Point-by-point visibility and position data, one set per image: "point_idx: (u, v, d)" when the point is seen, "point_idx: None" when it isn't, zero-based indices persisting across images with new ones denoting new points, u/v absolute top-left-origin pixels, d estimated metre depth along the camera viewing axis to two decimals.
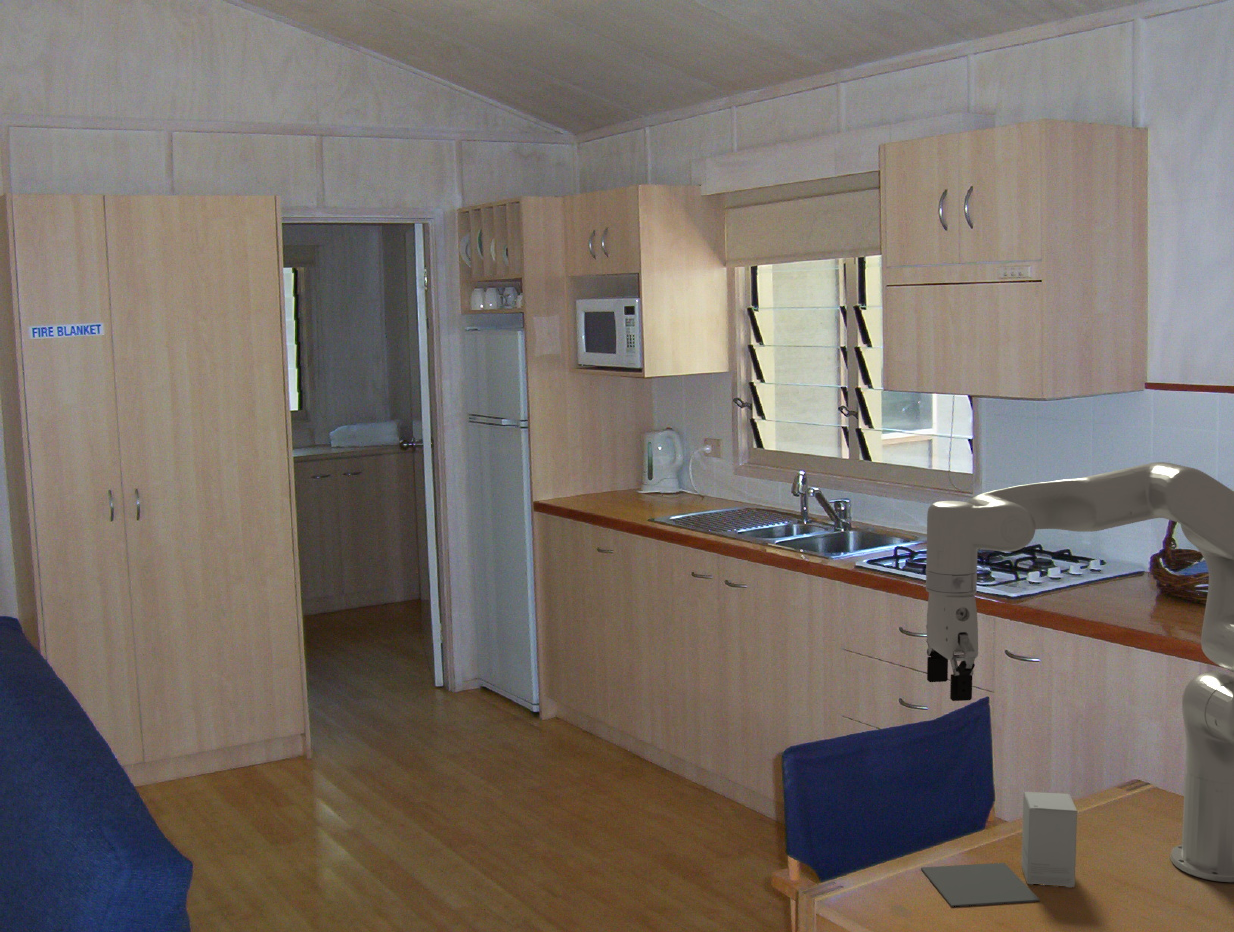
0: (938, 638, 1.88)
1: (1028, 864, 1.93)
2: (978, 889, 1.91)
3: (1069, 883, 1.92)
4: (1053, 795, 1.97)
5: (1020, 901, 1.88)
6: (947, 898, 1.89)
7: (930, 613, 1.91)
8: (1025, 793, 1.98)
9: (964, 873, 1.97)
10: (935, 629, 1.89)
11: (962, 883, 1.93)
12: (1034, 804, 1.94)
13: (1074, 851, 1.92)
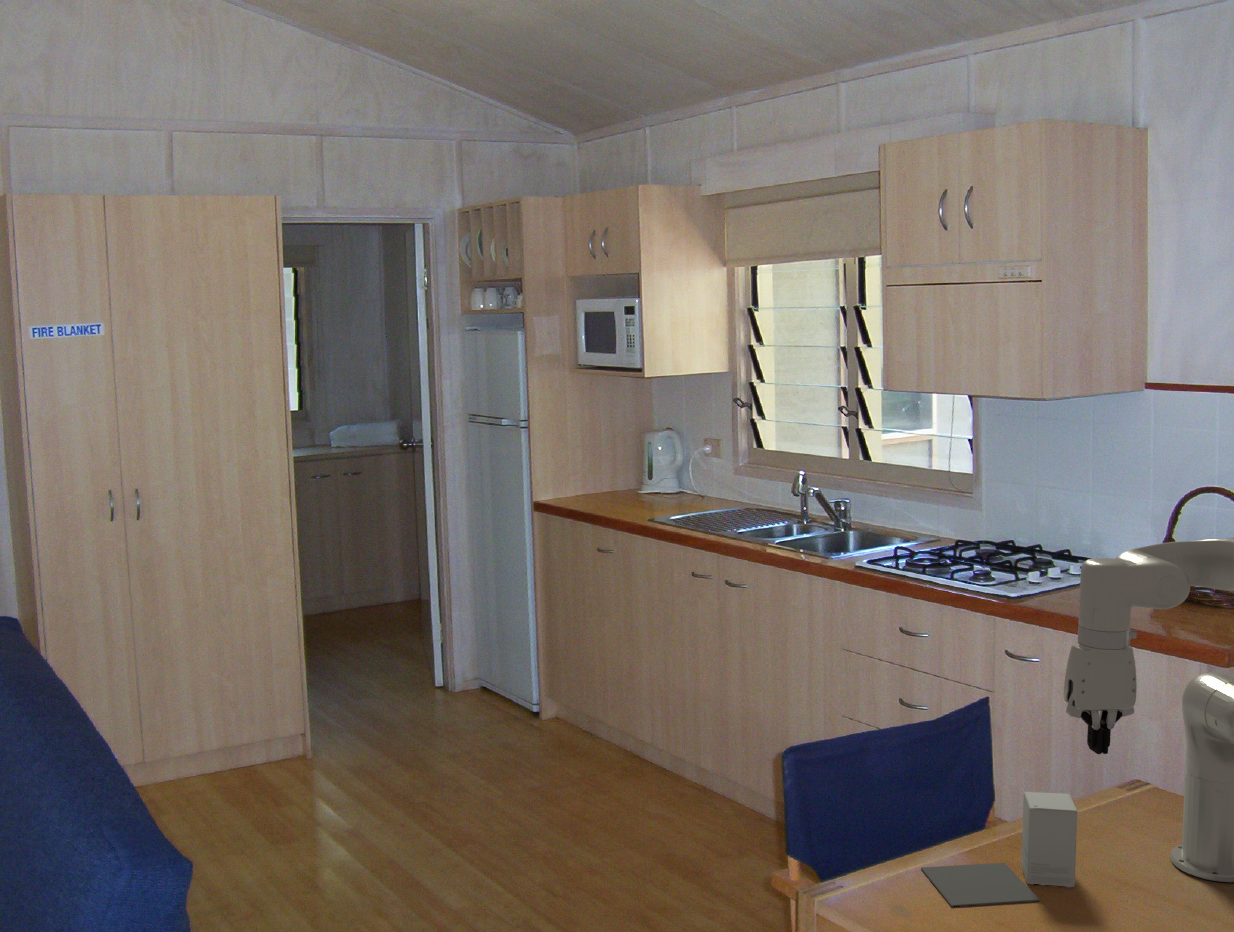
0: (1116, 694, 1.91)
1: (1028, 864, 1.93)
2: (978, 889, 1.91)
3: (1069, 883, 1.92)
4: (1053, 795, 1.97)
5: (1020, 901, 1.88)
6: (947, 898, 1.89)
7: (1096, 675, 1.91)
8: (1025, 793, 1.98)
9: (964, 873, 1.97)
10: (1110, 687, 1.91)
11: (962, 883, 1.93)
12: (1034, 804, 1.94)
13: (1074, 851, 1.92)
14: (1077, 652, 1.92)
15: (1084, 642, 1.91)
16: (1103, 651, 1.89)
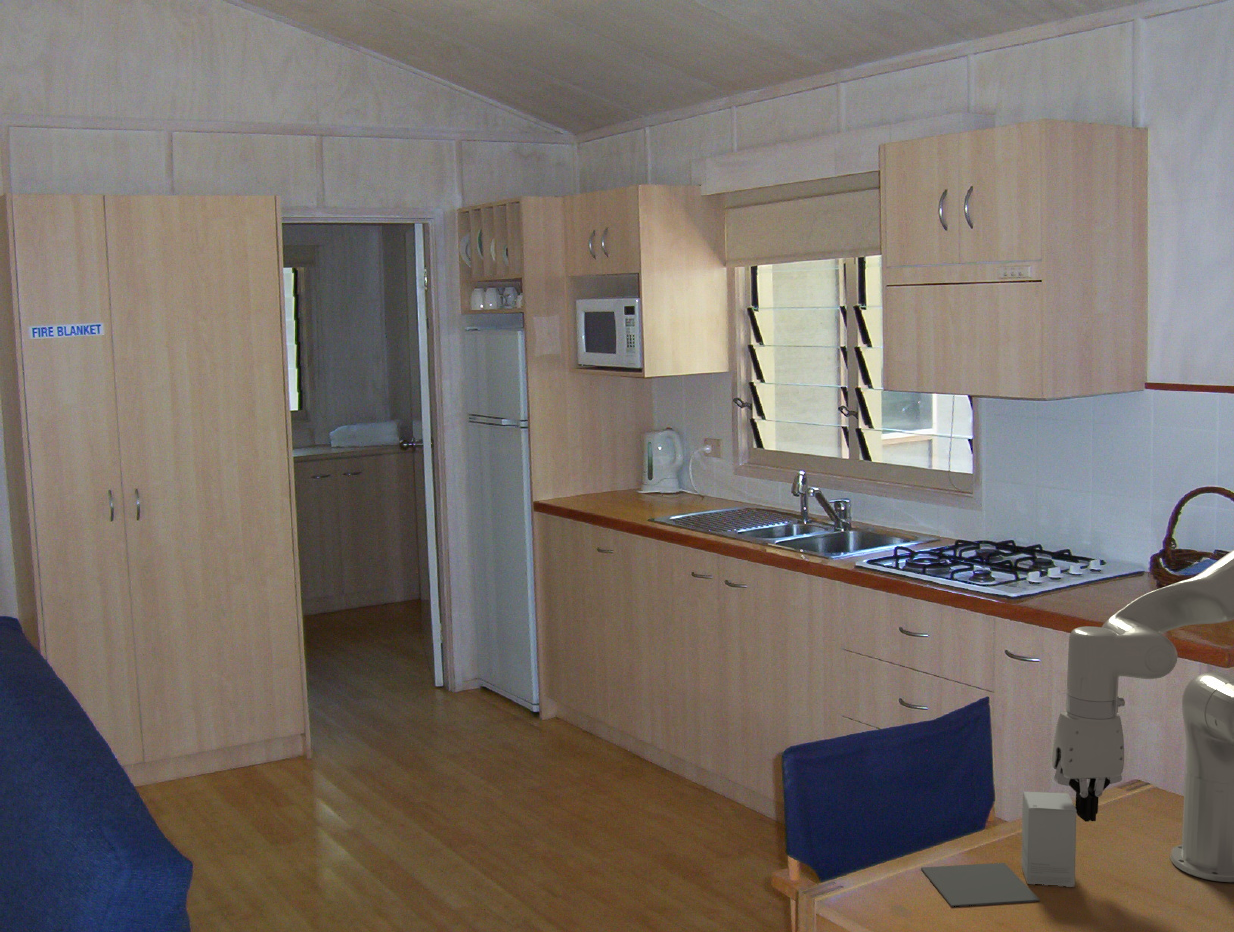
0: (1104, 762, 1.93)
1: (1028, 864, 1.93)
2: (978, 889, 1.91)
3: (1069, 883, 1.92)
4: (1052, 794, 1.97)
5: (1020, 901, 1.88)
6: (947, 898, 1.89)
7: (1084, 744, 1.92)
8: (1024, 793, 1.98)
9: (964, 873, 1.97)
10: (1098, 756, 1.92)
11: (962, 883, 1.93)
12: (1034, 803, 1.94)
13: (1074, 851, 1.92)
14: (1065, 720, 1.93)
15: (1072, 711, 1.92)
16: (1091, 720, 1.90)
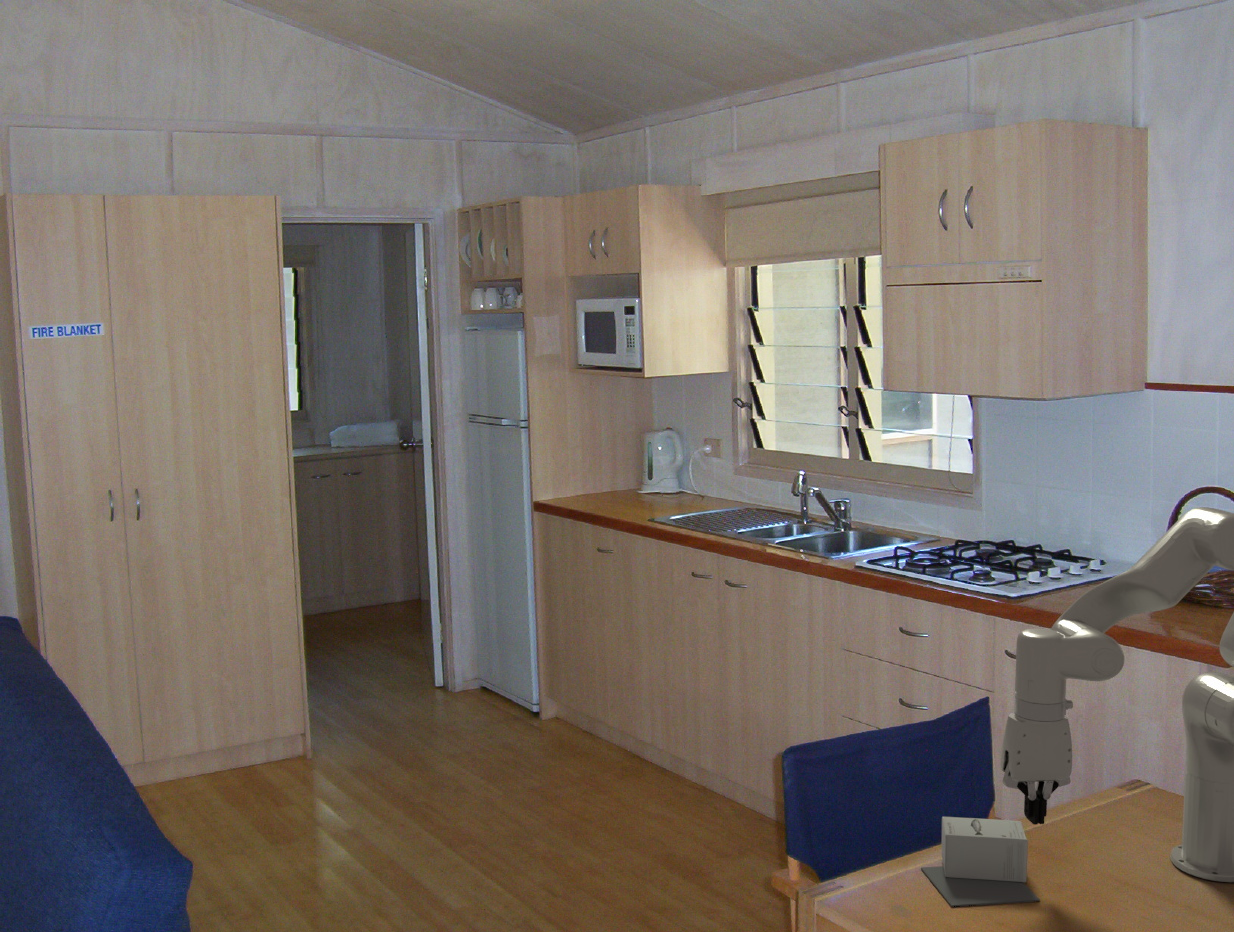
0: (1051, 765, 1.92)
1: (1005, 880, 1.94)
2: (978, 889, 1.91)
3: (1023, 844, 1.93)
4: None
5: (1020, 901, 1.88)
6: (947, 898, 1.89)
7: (1032, 747, 1.91)
8: None
9: None
10: (1045, 759, 1.91)
11: (962, 883, 1.93)
12: (943, 866, 1.97)
13: (988, 838, 1.93)
14: (1013, 723, 1.92)
15: (1020, 713, 1.92)
16: (1038, 723, 1.89)
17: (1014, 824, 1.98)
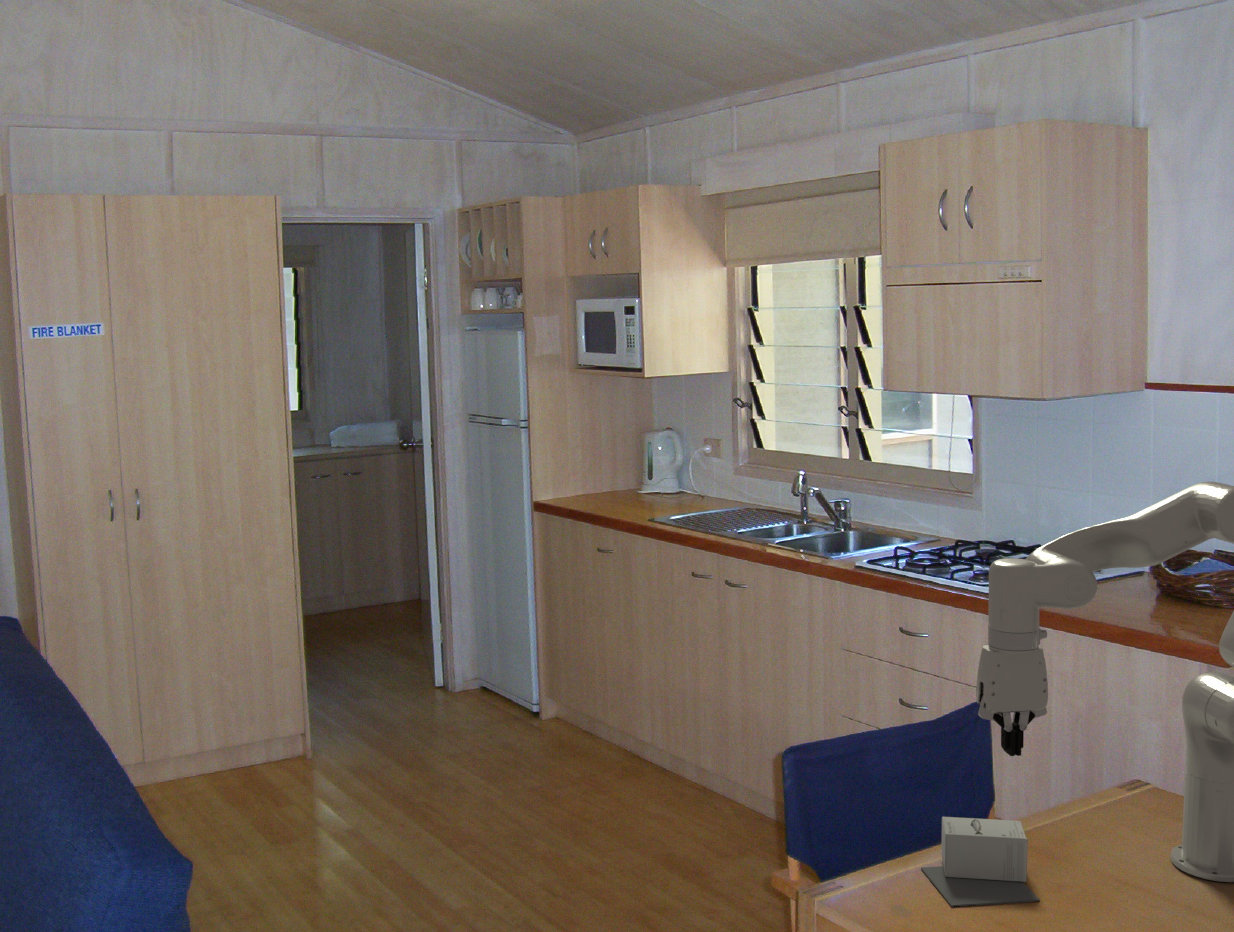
0: (1027, 695, 1.90)
1: (1005, 880, 1.94)
2: (978, 889, 1.91)
3: (1023, 843, 1.93)
4: None
5: (1020, 901, 1.88)
6: (947, 898, 1.89)
7: (1006, 677, 1.89)
8: None
9: None
10: (1020, 689, 1.90)
11: (962, 883, 1.93)
12: (943, 866, 1.97)
13: (988, 838, 1.94)
14: (987, 654, 1.90)
15: (993, 644, 1.90)
16: (1012, 652, 1.88)
17: (1014, 824, 1.98)
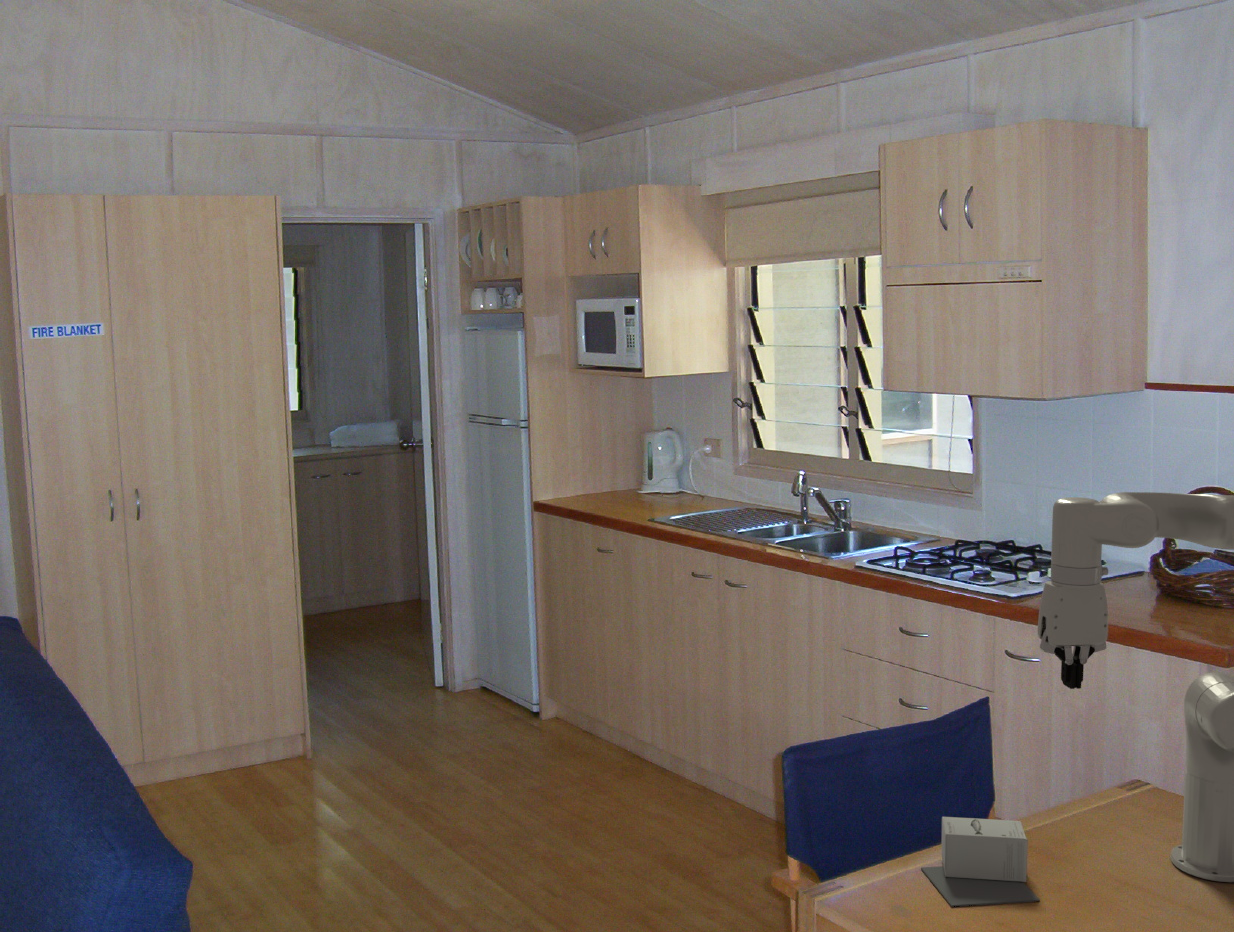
0: (1088, 629, 1.96)
1: (1005, 880, 1.94)
2: (978, 889, 1.91)
3: (1023, 843, 1.93)
4: None
5: (1020, 901, 1.88)
6: (947, 898, 1.89)
7: (1069, 611, 1.95)
8: None
9: None
10: (1082, 623, 1.96)
11: (962, 883, 1.93)
12: (943, 866, 1.97)
13: (988, 838, 1.94)
14: (1050, 589, 1.96)
15: (1056, 579, 1.96)
16: (1075, 587, 1.94)
17: (1014, 824, 1.98)
